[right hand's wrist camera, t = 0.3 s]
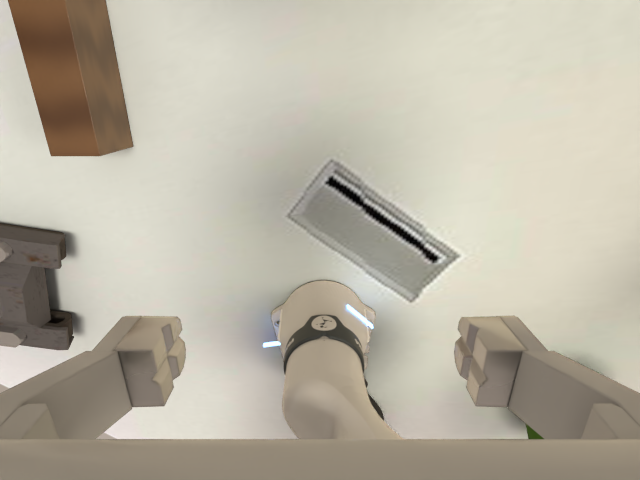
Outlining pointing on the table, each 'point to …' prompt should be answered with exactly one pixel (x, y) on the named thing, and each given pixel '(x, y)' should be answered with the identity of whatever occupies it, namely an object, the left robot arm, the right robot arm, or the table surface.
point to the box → (73, 75)
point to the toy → (30, 289)
